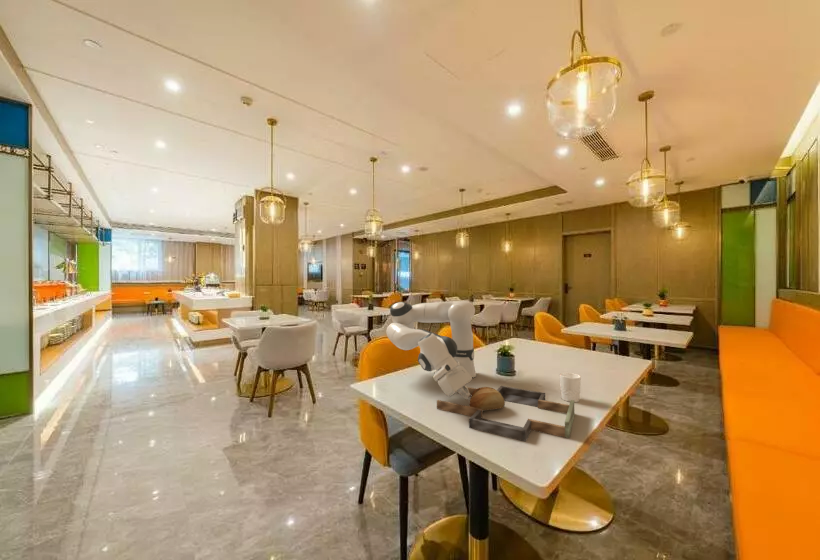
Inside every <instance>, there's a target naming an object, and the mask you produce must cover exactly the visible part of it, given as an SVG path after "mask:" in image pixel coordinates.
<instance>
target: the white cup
mask: <svg viewBox="0 0 820 560" xmlns="http://www.w3.org/2000/svg"><path fill="white" fill-rule="evenodd" d="M581 377H582V376H581V375H579V374H576V373H573V372H561V373H560V374H559V386H560V392H561V393H560V395H561V399H562V400H563V401H564V402H565V401H566V402H568V403H570V401H571V400H574V403H578V402H580V396H581V395H580V394H581V383H582V381H581V379H582V378H581Z"/></svg>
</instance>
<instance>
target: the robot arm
mask: <svg viewBox="0 0 820 560" xmlns="http://www.w3.org/2000/svg"><path fill="white" fill-rule="evenodd" d="M389 314H390V317H391V321H392V322H391V323H390V324H389V325H388V326H387V327H386V330H385V334H386V337H387V338H388V340H389V341H390V342H391V343H392V344H393V345H394V346H395V347H396V348H398V349H400V350H403V351H409V350H413V349H415V348H417V347H419V348H420V350H419V351H420V353H419V354H418V356H417V362H418V364H419V365H420V367H421V368H422V369H423V370H424V371H426V372H432V371H433V372H434V371H435V370H436V371H435V374H434V373H433V380H434V381H435V382H437V384H438V386H439V388H440V389H441V391H442V392H443V393H444V395H446V396H448V397H449V398H450V397H452V395H453V394H455V393H457V391H458V393H457V394H459V395H460V396H462V397H463V398H464V400H465V401H466V400H468V399H469V398H470V397H471V394H470V393H469V390H468V387H469V386H468V385H467V384H468V383H470V382H471V381H472V380H473V378H476V377H477V372H476V367H475V361H474V359H475V348H474V333H473V329H472V324H471V320H473V318H474V316H475V314H476V309H475V305H473V303H471V302H470V301H468V300H458V301H457V300H456V301H455V300H454V301H441V302H438V301H437V302H421V303H417V304H413V305H411V304H409V303H407V302H404V301H399V302H395V303H393V304H392V305H391V306H390V308H389ZM415 322H417V323H423V324H424V323H428V324H430V323H432V324H433V323H434V324H435V323H438V324H439V323H449V325H450V330H451V337H450V336H446V335H445V336H444V335H440V334H437V333H435V332H432V331H430V330H426V329H423V328H422V329H421V328H418V329H417V328H416V327H415ZM472 377H473V378H472Z"/></svg>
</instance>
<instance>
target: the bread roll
mask: <svg viewBox="0 0 820 560" xmlns="http://www.w3.org/2000/svg"><path fill="white" fill-rule="evenodd" d="M469 398H470V399H469V403H468V404H469V405H468V406H470V407H474V408H479V409H482V412H483V411H484V412H485V411H491V410H499V409H500V410H501V409H503V408H504V407H505V402H506V401H504V399H503V397H502V395H501V394H500V393H499V392H498V391H497V389H496V388H493V387H489V386H484V387H483V386H482V387H477V388H476V390H475V391H474V392H473V393H472V396H471V397H469Z"/></svg>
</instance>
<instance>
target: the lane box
mask: <svg viewBox="0 0 820 560" xmlns="http://www.w3.org/2000/svg"><path fill="white" fill-rule="evenodd" d="M467 387H468V390H469V393H470V394H471V395H472V393H473V392H474V391H475V390H476V389H477V388H476V387H475V388H474V387H469V386H467ZM496 390H497V391H498V392H499V393H500V394H501V395H502V397H503V399H504V402H510V403H514V404H521V405H526V406H531V407H535V408H538V409H542V410H547V411H552V412H556V413H562V414H566V417H565V420H564V425H560V424H556V423H550V422H546V421H541V420H537V419H536V420H535V419H531V418H527V420H526V422H525V423H524V426H519V425H515V424H510V423H505V422H500V421H496V420H492V419H487V418H483V411H482V409H479V408H474V407H470V406H469V405H466V404H465V405H464V404H460V403H459V404H458V403H455V402H451V401H450V402H449V401H446V400H440V399H438V400H436V409H437V410H440V411H441V410H442V411H447V412H451V413H455V414H459V415H463V416H468V417H469V419H468V425H469V427H468V428H469V429H474V430H476V431H481V432H484V433H485V432H486V433H490V434H493V435H497V436H502V437H505V438H509V439H514V440H518V441H523V442H526V441H527V440H528V438H529V435H530V434H531V431H534V430H535V432H539V431H540V432H539V433H543V432H544V434H548V435H552V436H553V435H554V436H557V437H561V436H562V437H561V438H565V437H567V438H566V439H570V436H571V433H572V427H573V423H574V418H575V402H574V400H571V401H570V402H569V404H567V403H566V404H565V403H560V402H556V401H555V402H554V401H549V400H546V392H541V391H535V390H529V389H523V388H517V387H512V386H511V387H509V386H505V385H501V386H499V387H498V388H497V389H496ZM456 393H457V394H459V393H458V391H456Z"/></svg>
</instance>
